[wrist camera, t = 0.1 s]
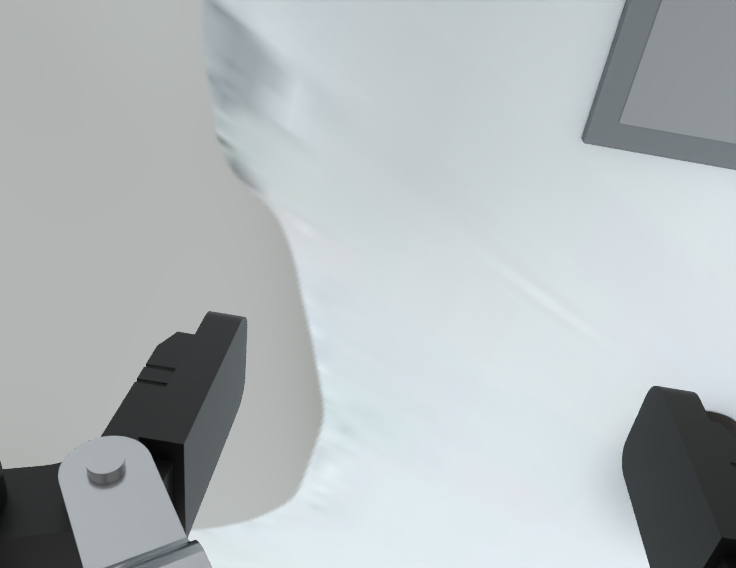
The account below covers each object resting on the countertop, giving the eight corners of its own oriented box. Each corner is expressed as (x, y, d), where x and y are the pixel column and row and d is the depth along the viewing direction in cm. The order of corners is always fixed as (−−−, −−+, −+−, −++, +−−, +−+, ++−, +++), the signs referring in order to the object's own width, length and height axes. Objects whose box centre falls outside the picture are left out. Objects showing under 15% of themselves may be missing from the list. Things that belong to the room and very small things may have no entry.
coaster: (656, -93, 34) (661, -92, 33) (897, -51, 34) (908, -50, 33) (581, 138, 40) (584, 143, 39) (784, 174, 40) (791, 180, 39)
